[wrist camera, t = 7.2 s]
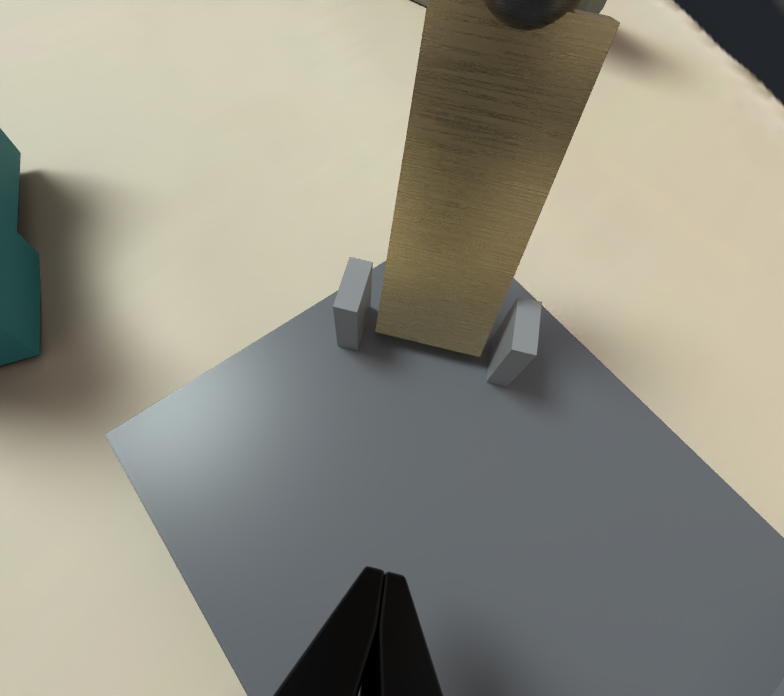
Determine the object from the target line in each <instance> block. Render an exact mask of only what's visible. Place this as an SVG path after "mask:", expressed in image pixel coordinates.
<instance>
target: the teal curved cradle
mask: <svg viewBox="0 0 784 696" xmlns="http://www.w3.org/2000/svg"><path fill="white" fill-rule="evenodd" d="M20 154H21V153H20V152H19V150H18V149H17V148H16V147H15V146H14V144H13V143H12V142H11V141H10V140H9V138H8V137H7V136H6V135H5V133H4V132H3V131H2V130H1V129H0V366H1V365H4V364H8V363H12V362H15V361H19V360H22V359H26V358H30V357H33V356H37V355H40V268H39V254H38V252H37V251H36V250H35V249H34V248H33V247H32V246H31V245H30V244H29V243H28V242H27V241H26V240H25V239H24V238H23V237H22V236H21V235H20V234H18V233H17V219H18V197H19V176H20Z"/></svg>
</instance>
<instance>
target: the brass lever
mask: <svg viewBox="0 0 784 696" xmlns="http://www.w3.org/2000/svg"><path fill="white" fill-rule="evenodd" d="M582 1H583V0H428V3H427V9H426V15H425V22H424V28H423V34H422V40H421V47H420V53H419V59H418V66H417V72H416V78H415V84H414V91H413V97H412V103H411V110H410V116H409V122H408V128H407V135H406V141H405V147H404V154H403V160H402V166H401V172H400V179H399V185H398V191H397V198H396V204H395V210H394V217H393V223H392V229H391V235H390V242H389V248H388V254H387V261H386V267H385V273H384V279H383V286H382V292H381V298H380V305H379V311H378V317H377V323H376V330H375V332H378V333H382V334H386V335H390V336H394V337H399V338H403V339H407V340H411V341H415V342H419V343H423V344H428V345H432V346H436V347H440V348H444V349H448V350H452V351H457V352H461V353H465V354H469V355H473V356H477V357H480V356H481V353H482V351H483V348H484V346H485V344H486V341H487V339H488V337H489V334H490V332H491V329H492V327H493V325H494V322H495V320H496V318H497V315H498V313H499V310H500V308H501V306H502V303H503V301H504V298H505V296H506V294H507V291H508V289H509V287H510V284H511V282H512V279H513V277H514V275H515V272H516V270H517V267H518V265H519V263H520V260H521V258H522V256H523V253H524V251H525V248H526V246H527V244H528V241H529V239H530V236H531V234H532V232H533V229H534V227H535V225H536V222H537V220H538V217H539V215H540V213H541V210H542V208H543V205H544V203H545V201H546V198H547V196H548V194H549V191H550V189H551V186H552V184H553V182H554V179H555V177H556V174H557V172H558V170H559V167H560V165H561V163H562V160H563V158H564V155H565V153H566V151H567V148H568V146H569V143H570V141H571V139H572V136H573V134H574V132H575V129H576V127H577V124H578V122H579V120H580V117H581V115H582V112H583V110H584V108H585V105H586V103H587V101H588V98H589V96H590V93H591V91H592V89H593V86H594V84H595V81H596V79H597V77H598V74H599V72H600V70H601V67H602V65H603V62H604V60H605V58H606V55H607V53H608V50H609V48H610V46H611V43H612V41H613V39H614V36H615V34H616V31H617V29H618V27H619V24H620V22H618V21H617V20H615V19H613V18H612V17H610V16H606V15H601V14H596V13H592V12H587V11H582V10H577V9H576V8H577V7H578V6H579V5H580V3H581V2H582Z"/></svg>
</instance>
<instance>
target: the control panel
mask: <svg viewBox="0 0 784 696" xmlns="http://www.w3.org/2000/svg"><path fill="white" fill-rule="evenodd" d="M386 261H387V260H386ZM386 261H385V262H383V263H382V264H380V265H378V266H377V267H375V268H373V269H372V267H373V262H369V261H365V260H360V259H356V258H352V257H350V258H349V261H348V264H347V267H346V270H345V272H344V275H343V278H342V281H341V284H340V287H339V290H338V291H336V292H335V293H333V294H331V295H330V296H328V297H327V298H325V299H323V300H322V301H320V302H319V303H317V304H315V305H314V306H312V307H310V308H309V309H307V310H306V311H304V312H302V313H301V314H299V315H298V316H296V317H294V318H293V319H291V320H289V321H288V322H286V323H285V324H283V325H281V326H280V327H278V328H277V329H275V330H273V331H272V332H270V333H269V334H267V335H265V336H264V337H262V338H260V339H259V340H257V341H256V342H254V343H252V344H251V345H249V346H248V347H246V348H244V349H243V350H241V351H239V352H238V353H236V354H235V355H233V356H231V357H230V358H228V359H227V360H225V361H223V362H222V363H220V364H218V365H217V366H215V367H214V368H212V369H210V370H209V371H207V372H206V373H204V374H202V375H201V376H199V377H197V378H196V379H194V380H193V381H191V382H189V383H188V384H186V385H185V386H183V387H181V388H180V389H178V390H176V391H175V392H173V393H172V394H170V395H168V396H167V397H165V398H164V399H162V400H160V401H159V402H157V403H156V404H154V405H152V406H151V407H149V408H147V409H146V410H144V411H143V412H141V413H139V414H138V415H136V416H135V417H133V418H131V419H130V420H128V421H126V422H125V423H123V424H122V425H120V426H118V427H117V428H115V429H114V430H112V431H110V432H109V433H107V434H105V436H106V438H107V440H108V441H109V443H110V445H111V447H112V449H113V451H114V452H115V454H116V456H117V458H118V460H119V462H120V463H121V465H122V467H123V469H124V471H125V473H126V474H127V476H128V478H129V480H130V482H131V483H132V485H133V487H134V489H135V491H136V493H137V494H138V496H139V498H140V500H141V502H142V504H143V505H144V507H145V509H146V511H147V513H148V515H149V516H150V518H151V520H152V522H153V524H154V526H155V527H156V529H157V531H158V533H159V535H160V536H161V538H162V540H163V542H164V544H165V546H166V547H167V549H168V551H169V553H170V555H171V557H172V558H173V560H174V562H175V564H176V566H177V568H178V569H179V571H180V573H181V575H182V577H183V579H184V580H185V582H186V584H187V586H188V588H189V589H190V591H191V593H192V595H193V597H194V599H195V600H196V602H197V604H198V606H199V608H200V610H201V611H202V613H203V615H204V617H205V619H206V621H207V622H208V624H209V626H210V628H211V630H212V632H213V633H214V635H215V637H216V639H217V641H218V642H219V644H220V646H221V648H222V650H223V652H224V653H225V655H226V657H227V659H228V661H229V663H230V664H231V666H232V668H233V670H234V672H235V674H236V675H237V677H238V679H239V681H240V683H241V685H242V686H243V688H244V690H245V692H246V694H247V695H248V696H273V695H274V693H275V692H276V690H277V689H278V688H279V686H280V685H281V683H282V682H283V681H284V679H285V678H286V676H287V675H288V674H289V672H290V671H291V669H292V668H293V667H294V665H295V664H296V662H297V661H298V660H299V658H300V657H301V655H302V654H303V653H304V651H305V650H306V648H307V647H308V646H309V644H310V643H311V641H312V640H313V639H314V637H315V636H316V634H317V633H318V632H319V630H320V629H321V627H322V626H323V625H324V623H325V622H326V620H327V619H328V618H329V616H330V615H331V613H332V612H333V611H334V609H335V608H336V606H337V605H338V604H339V602H340V601H341V599H342V598H343V597H344V595H345V594H346V592H347V591H348V590H349V588H350V587H351V585H352V584H353V583H354V581H355V580H356V578H357V577H358V576H359V574H360V573H361V571H362V570H363V569H364V568H365V567H366V566H370V567H374V568H378V569H382V570H383V571H384V575H385V573H386V572H388V571H389V572H393V573H397V574H401V575H403V576H404V577H405V578H406V580H407V583H408V586H409V589H410V593H411V596H412V599H413V602H414V605H415V608H416V611H417V615H418V618H419V621H420V624H421V627H422V630H423V634H424V637H425V640H426V643H427V646H428V649H429V652H430V656H431V659H432V662H433V665H434V668H435V671H436V674H437V678H438V681H439V684H440V687H441V690H442V693H443V696H784V538H783V537H782V536H781V535H780V534H779V533H778V532H777V531H776V530H775V529H774V528H773V527H772V526H771V525H770V524H769V523H768V522H767V521H765V520H764V519H763V518H762V517H761V516H760V515H759V514H758V513H757V512H756V511H755V510H754V509H753V508H752V507H751V506H750V505H749V504H748V503H747V502H746V501H745V500H744V499H743V498H742V497H741V496H739V495H738V494H737V493H736V492H735V491H734V490H733V489H732V488H731V487H730V486H729V485H728V484H727V483H726V482H725V481H724V480H723V479H722V478H721V477H720V476H719V475H718V474H717V473H716V472H715V471H714V470H712V469H711V468H710V467H709V466H708V465H707V464H706V463H705V462H704V461H703V460H702V459H701V458H700V457H699V456H698V455H697V454H696V453H695V452H694V451H693V450H692V449H691V448H690V447H689V446H688V445H686V444H685V443H684V442H683V441H682V440H681V439H680V438H679V437H678V436H677V435H676V434H675V433H674V432H673V431H672V430H671V429H670V428H669V427H668V426H667V425H666V424H665V423H664V422H663V421H662V420H661V419H659V418H658V417H657V416H656V415H655V414H654V413H653V412H652V411H651V410H650V409H649V408H648V407H647V406H646V405H645V404H644V403H643V402H642V401H641V400H640V399H639V398H638V397H637V396H636V395H635V394H633V393H632V392H631V391H630V390H629V389H628V388H627V387H626V386H625V385H624V384H623V383H622V382H621V381H620V380H619V379H618V378H617V377H616V376H615V375H614V374H613V373H612V372H611V371H610V370H609V369H608V368H606V367H605V366H604V365H603V364H602V363H601V362H600V361H599V360H598V359H597V358H596V357H595V356H594V355H593V354H592V353H591V352H590V351H589V350H588V349H587V348H586V347H585V346H584V345H583V344H582V343H580V342H579V341H578V340H577V339H576V338H575V337H574V336H573V335H572V334H571V333H570V332H569V331H568V330H567V329H566V328H565V327H564V326H563V325H562V324H561V323H560V322H559V321H558V320H557V319H556V318H555V317H553V316H552V315H551V314H550V313H549V312H548V311H547V310H546V309H545V308H544V307H543V306H542V302H539V301H537V300H536V299H535V298H534V297H533V296H532V295H531V294H530V293H529V292H527V291H526V290H525V289H524V288H523V287H522V286H521V285H520V284H519V283H518V282H517V281H516V280H515V279H514V278H513V279H512V282H511V284H510V287H509V289H508V291H507V294H506V296H505V298H504V301H503V303H502V306H501V308H500V310H499V313H498V315H497V318H496V320H495V322H494V325H493V327H492V329H491V332H490V334H489V337H488V339H487V341H486V344H485V346H484V348H483V351H482V353H481V356H480V357H477V356H473V355H469V354H465V353H461V352H457V351H452V350H448V349H444V348H440V347H436V346H432V345H428V344H423V343H419V342H415V341H411V340H407V339H403V338H399V337H394V336H390V335H386V334H382V333H378V332H375V330H376V323H377V317H378V311H379V305H380V298H381V292H382V286H383V279H384V273H385V267H386ZM359 693H360V691H359ZM358 696H359V694H358Z"/></svg>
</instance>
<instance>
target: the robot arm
mask: <svg viewBox="0 0 784 696" xmlns="http://www.w3.org/2000/svg"><path fill="white" fill-rule="evenodd" d="M359 691H360V693H359ZM358 694H359V696H443V693H442V690H441V687H440V684H439V681H438V678H437V674H436V671H435V668H434V665H433V662H432V659H431V656H430V652H429V649H428V646H427V643H426V640H425V637H424V634H423V630H422V627H421V624H420V621H419V618H418V615H417V611H416V608H415V605H414V602H413V599H412V596H411V593H410V589H409V586H408V583H407V580H406V578H405V577H404V576H403V575H401V574H397V573H393V572H389V571H388V572H386V573H385V575H384V571H383V570H382V569H378V568H374V567H370V566H366V567H365V568H364V569H363V570H362V571H361V573H360V574H359V576H358V577H357V578H356V580H355V581H354V583H353V584H352V585H351V587H350V588H349V590H348V591H347V592H346V594H345V595H344V597H343V598H342V599H341V601H340V602H339V604H338V605H337V606H336V608H335V609H334V611H333V612H332V613H331V615H330V616H329V618H328V619H327V620H326V622H325V623H324V625H323V626H322V627H321V629H320V630H319V632H318V633H317V634H316V636H315V637H314V639H313V640H312V641H311V643H310V644H309V646H308V647H307V648H306V650H305V651H304V653H303V654H302V655H301V657H300V658H299V660H298V661H297V662H296V664H295V665H294V667H293V668H292V669H291V671H290V672H289V674H288V675H287V676H286V678H285V679H284V681H283V682H282V683H281V685H280V686H279V688H278V689H277V690H276V692H275V693H274V695H273V696H358Z"/></svg>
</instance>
